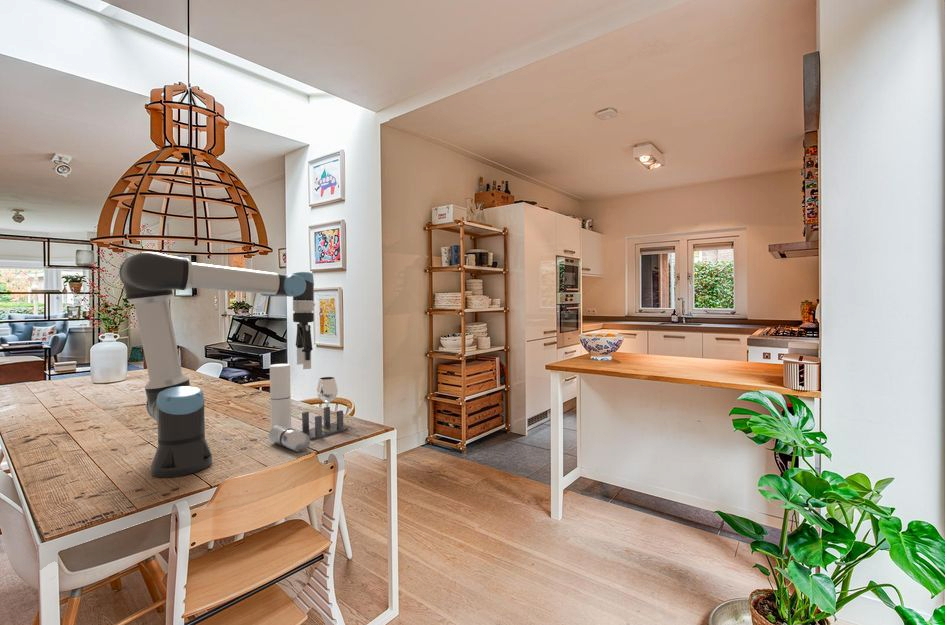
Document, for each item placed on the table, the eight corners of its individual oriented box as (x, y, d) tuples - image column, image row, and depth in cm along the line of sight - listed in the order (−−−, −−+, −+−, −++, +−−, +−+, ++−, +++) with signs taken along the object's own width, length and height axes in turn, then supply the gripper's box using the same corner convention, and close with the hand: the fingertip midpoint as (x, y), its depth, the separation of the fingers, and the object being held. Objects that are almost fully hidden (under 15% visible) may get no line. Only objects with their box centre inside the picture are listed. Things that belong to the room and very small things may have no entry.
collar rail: (312, 440, 153) (311, 418, 153) (297, 434, 160) (296, 413, 159) (347, 430, 165) (347, 409, 165) (332, 425, 171) (332, 405, 171)
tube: (310, 449, 144) (310, 431, 144) (292, 454, 139) (292, 435, 139) (286, 439, 154) (285, 422, 154) (268, 444, 149) (268, 426, 149)
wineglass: (321, 426, 170) (320, 380, 170) (314, 421, 177) (313, 378, 176) (341, 422, 176) (340, 378, 175) (333, 418, 182) (332, 375, 181)
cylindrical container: (277, 433, 161) (275, 367, 160) (267, 430, 165) (266, 365, 165) (294, 429, 167) (293, 364, 166) (284, 425, 171) (283, 363, 170)
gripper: (320, 312, 159) (320, 370, 159) (307, 311, 180) (307, 361, 181) (299, 312, 155) (299, 371, 155) (287, 311, 176) (288, 363, 177)
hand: (303, 366), depth 168 cm, fingers open, 13 cm apart
